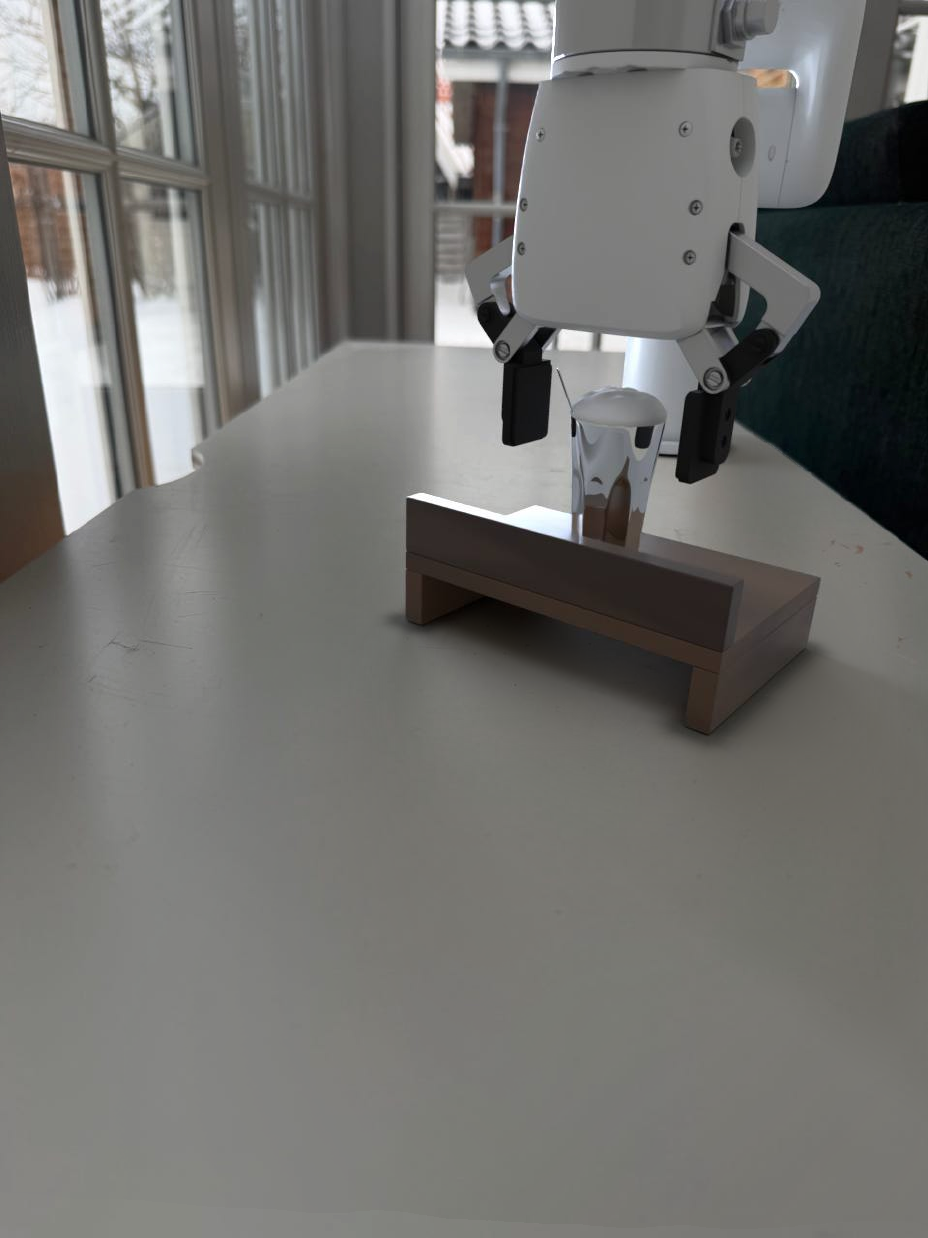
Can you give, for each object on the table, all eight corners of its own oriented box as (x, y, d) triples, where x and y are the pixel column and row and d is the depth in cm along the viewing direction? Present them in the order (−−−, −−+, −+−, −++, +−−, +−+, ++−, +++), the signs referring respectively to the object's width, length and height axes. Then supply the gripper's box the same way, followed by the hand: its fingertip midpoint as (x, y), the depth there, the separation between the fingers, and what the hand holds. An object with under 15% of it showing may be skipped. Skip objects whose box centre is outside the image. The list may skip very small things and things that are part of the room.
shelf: (531, 564, 57) (538, 457, 54) (806, 647, 47) (833, 521, 44) (404, 619, 49) (405, 496, 46) (708, 735, 38) (733, 586, 36)
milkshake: (536, 555, 47) (548, 361, 43) (634, 554, 47) (656, 363, 43) (550, 587, 43) (566, 376, 39) (658, 586, 43) (685, 378, 39)
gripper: (897, 36, 33) (810, 478, 40) (526, 70, 43) (508, 420, 50) (829, -4, 28) (743, 513, 35) (424, 45, 38) (420, 441, 45)
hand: (605, 458), depth 43 cm, fingers open, 9 cm apart
